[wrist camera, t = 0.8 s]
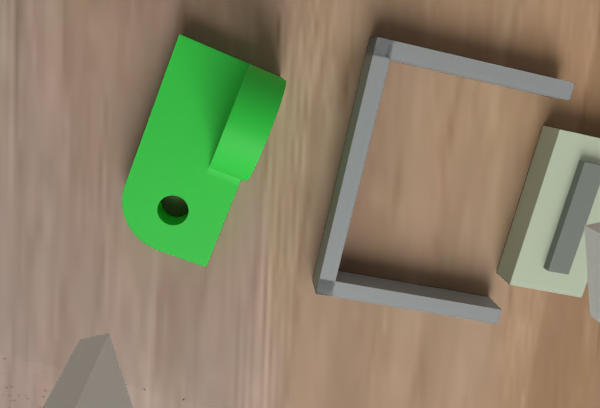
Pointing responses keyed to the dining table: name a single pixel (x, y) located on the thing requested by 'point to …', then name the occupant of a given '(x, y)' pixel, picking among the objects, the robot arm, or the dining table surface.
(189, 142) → the mechanical part
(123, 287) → the dining table surface
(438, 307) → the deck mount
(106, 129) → the dining table surface
